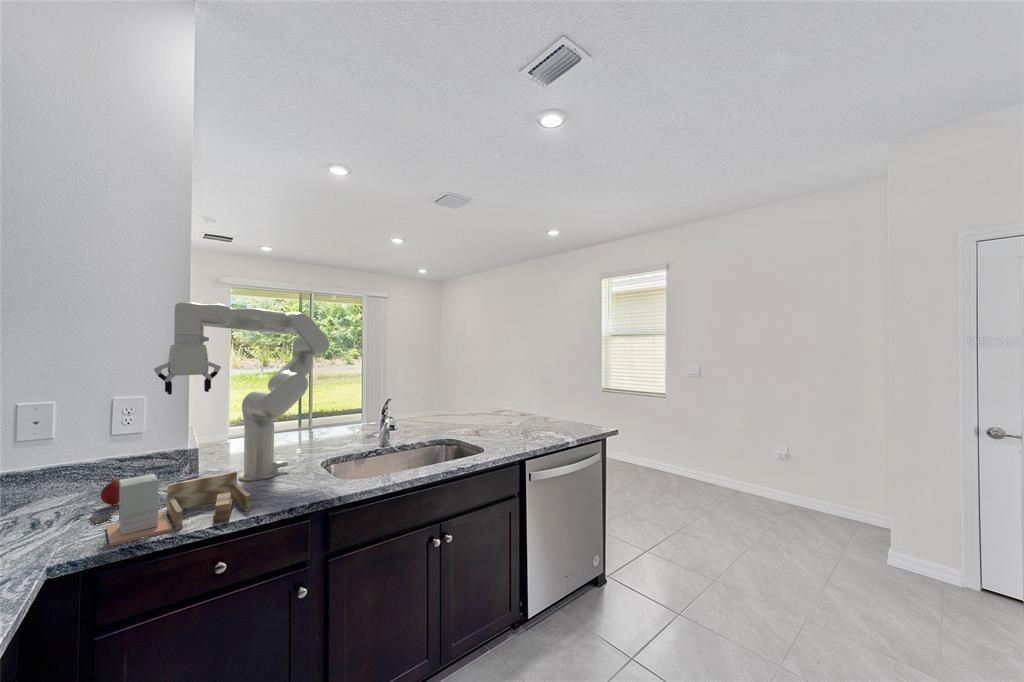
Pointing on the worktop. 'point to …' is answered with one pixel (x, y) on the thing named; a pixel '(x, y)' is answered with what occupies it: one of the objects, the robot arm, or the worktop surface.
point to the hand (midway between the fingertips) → (188, 392)
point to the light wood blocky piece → (203, 494)
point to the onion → (111, 493)
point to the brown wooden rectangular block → (223, 508)
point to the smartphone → (106, 517)
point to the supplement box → (138, 503)
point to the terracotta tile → (118, 538)
